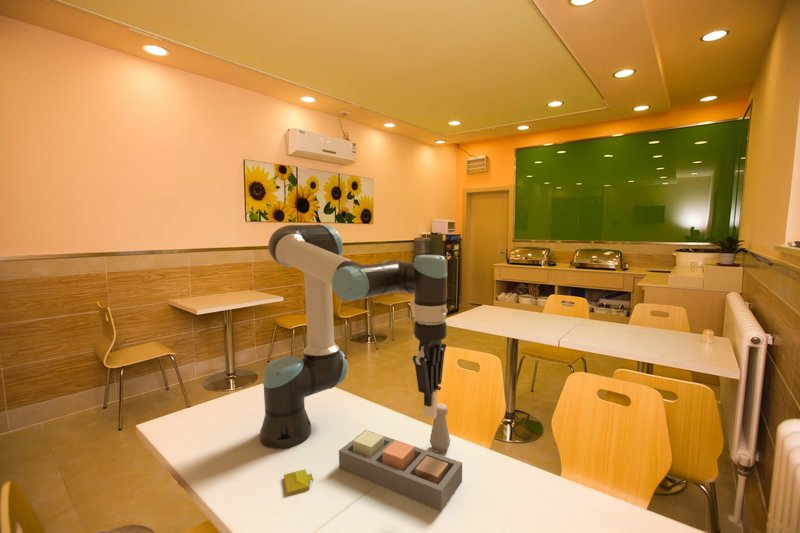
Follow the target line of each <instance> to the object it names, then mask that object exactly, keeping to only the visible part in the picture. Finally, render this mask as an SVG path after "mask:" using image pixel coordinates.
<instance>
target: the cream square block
mask: <svg viewBox="0 0 800 533" xmlns="http://www.w3.org/2000/svg"><path fill="white" fill-rule="evenodd" d="M364 431H365V430H364ZM364 431H363V432H364ZM370 431H371V430H368V431H367V429H366V431H365V432H364V433H363V432H362V434H361V433H360V434H361V435H360V434H359V435H360V436H359V435H357V436H358V437H357V436H356V437H357V438H356V437H355V438H356V439H355V438H353V439H354V440H353V439H352V440H353V452H355V453H357V454H360V455H363V456H365V457H368V458H372V457H373V456H374V455H375V454H376V453H377V452H378V451H380V450H381V449H382V448H383V447H384V436H385V435H382V434H380V433H377V434H376V432H374V431H371V432H370ZM373 432H374V433H373ZM379 434H380V435H379ZM381 435H382V436H381Z"/></svg>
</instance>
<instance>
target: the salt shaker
mask: <svg viewBox="0 0 800 533" xmlns="http://www.w3.org/2000/svg"><path fill="white" fill-rule="evenodd" d="M448 409H449V408H448V406H447V405H446V404H445V403H440V402H439V403H437V417H436V418H435V419H433V421H432V427H431V433H430V439H429V443H430V445H431V448H432V449H433V451H434V452H436V451H437V452H436V453H441V452H443V453H445V452H446V450H447V451H448V449H449V447H450V445H451V439H450V438H451V437H450V433H449V427H448V421H447V417H446V415H448V411H449V410H448ZM444 451H445V452H444Z"/></svg>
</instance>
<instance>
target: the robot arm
mask: <svg viewBox="0 0 800 533" xmlns="http://www.w3.org/2000/svg"><path fill="white" fill-rule="evenodd" d="M267 245H268V248H267V250H268V252H269V255H270V256H271V258H272V259H273V260H274V261H275V262H276V263H277V264H280V265H282V266H284V267H288V268H292V267H293V268H296V269H297V270H299V271H302V272H303V276H304V292H305V314H306V315H305V316H306V334H307V335H306V336H307V345H306V347H304V349H303V358H302V357H300V356H298V355H290V356H282V357H280V358H276V359H274V360H272V361H270V362H269V363H268V364H267V365H266V367H265V368H264V369H263V379H262V385H263V396H264V411H265V412H264V418H263V420H262V421H263V422H262V426H261V429H260V431H259V439H260V440H259V441H260V443H261V444H262V445H263V446H265V447H266V448H270V449H277V450H278V449H285V448H292V447H296V446H297V445H300V444H302V443H304V442H305V441H306V440H308V439H309V437H310V435H311V433H312V423H311V421H310V419H309V415H308V413H307V411H306V408H305V398H307V397H310V396H312V395H315V394H319V393H321V392H324V391H326V390H329V389H333V388H335V387H336V386H339V385H340V384H342V383H343V381H344V380H345V379H346V377H347V374H348V361H347V359H346V355H345V354H344V352H343V351H341V350H340V346H339V345H337V343H335V328H334V302H333V301H334V300H333V293H335V294H336V297H337V298H338V299H339V300H341V301H358V300H361V299H367V298H372V297H377V296H383V295H388V294H393V293H394V294H395V293H407V294H412V295H414V296H413V297H414V298H413V299H414V303H413V305H414V308H413V309H414V315H413V316H414V317H413V319H414V320H415V322H414V337H415V338H416V339H417V340H418V341H419V343H418V354H417V355H413V357H412V361H413V364H414V368H415V376H416V381H417V382H416V383H417V389H418V392H419V393H422V394H423V417H424V418H428V419H431V420H434V419H435V418H436V417H437V404H438V403H437V401H438V400H437V399H438V398H437V396H438V395H437V394H438V391H441V389H442V387H441V386H439V385H441V384H442V380H443V371H444V370H443V369H444V359H445V354H446V353H445V352H446V348H447V344H446V343H442V340H445V338H446V337H447V322H446V320H447V314H448V310H449V309H447V283H448V282H447V281H448V272H447V260H446V258H445V256H443V255H439V254H421V255H416V256H415V257H414V260H413V262H410V261H400V260H384V261H382V262H380V263H371V264H362V263H358V262H356V261H353V260H352V259H349V258H347V257H345V256H342V254H343V250H344V249H343V248H344V246H343V245H344V244H343V240H342V237H341V235H340V233H339V232H338V231H337V229H336V228H335V227H333V226H331V225H325V224H288V225H284V226H282V227H281V226H280V227H279V228H277V229H276V230H275V231H274V232H272V234H271V236H270V238H269V240H268V244H267Z"/></svg>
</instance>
